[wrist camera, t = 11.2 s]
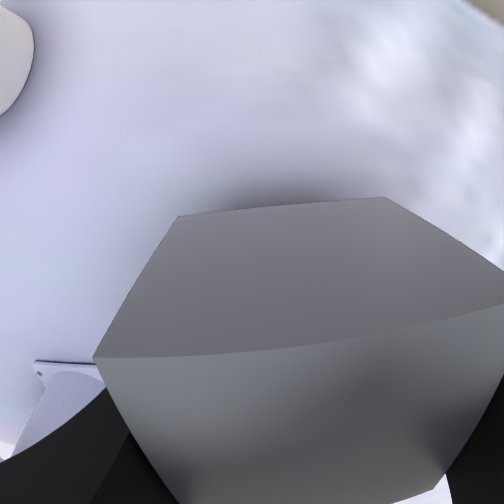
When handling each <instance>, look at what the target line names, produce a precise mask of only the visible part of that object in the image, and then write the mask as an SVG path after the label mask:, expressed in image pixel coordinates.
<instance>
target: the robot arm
mask: <svg viewBox="0 0 504 504" xmlns="http://www.w3.org/2000/svg"><path fill="white" fill-rule="evenodd" d="M32 367H33V369H34V371H35V373H36V375H37V376H38V378H39V380H40V381H41V383H42V384H43V386H44V388H45V390H44V392H43V394H42V396H41V398H40V400H39V402H38V403H37V405H36V407H35V409H34V411H33V413H32V415H31V417H30V419H29V421H28V423H27V425H26V427H25V429H24V431H23V433H22V435H21V437H20V439H19V441H18V443H17V445H16V447H15V449H14V451H13V453H12V456H11V457H10V458H9V459H7V460H5V461H4V460H3V459H2V458H0V504H179V502H178V501H177V500H176V499H175V497H174V496H173V495H172V493H171V492H170V490H169V489H168V488H167V486H166V485H165V484H164V482H163V481H162V479H161V478H160V476H159V475H158V474H157V472H156V471H155V469H154V468H153V466H152V465H151V463H150V462H149V460H148V459H147V457H146V455H145V454H144V452H143V451H142V449H141V448H140V446H139V444H138V443H137V441H136V440H135V438H134V436H133V435H132V433H131V431H130V429H129V428H128V426H127V424H126V423H125V421H124V419H123V417H122V415H121V414H120V412H119V410H118V408H117V406H116V405H115V403H114V401H113V399H112V397H111V395H110V393H109V391H108V389H107V387H106V385H105V383H104V381H103V379H102V377H101V375H100V373H99V371H98V369H97V367H96V365H82V364H63V363H49V362H34V363H33V365H32ZM446 477H447V481H448V485H449V489H450V493H451V498H452V503H453V504H504V374H503V376H502V379H501V381H500V383H499V385H498V387H497V389H496V391H495V393H494V395H493V397H492V399H491V401H490V403H489V404H488V406H487V408H486V410H485V412H484V414H483V415H482V417H481V419H480V421H479V422H478V424H477V426H476V427H475V429H474V431H473V432H472V434H471V436H470V437H469V439H468V440H467V442H466V444H465V445H464V447H463V448H462V450H461V451H460V453H459V454H458V456H457V457H456V459H455V460H454V462H453V463H452V464H451V466H450V467H449V469H448V470H447V471H446Z"/></svg>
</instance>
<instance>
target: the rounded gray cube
mask: <svg viewBox="0 0 504 504" xmlns="http://www.w3.org/2000/svg"><path fill="white" fill-rule="evenodd" d="M92 358H93V360H94V362H95V365H96V367H97V369H98V371H99V373H100V375H101V377H102V379H103V381H104V383H105V385H106V387H107V389H108V391H109V393H110V395H111V397H112V399H113V401H114V403H115V405H116V406H117V408H118V410H119V412H120V414H121V415H122V417H123V419H124V421H125V423H126V424H127V426H128V428H129V429H130V431H131V433H132V435H133V436H134V438H135V440H136V441H137V443H138V444H139V446H140V448H141V449H142V451H143V452H144V454H145V455H146V457H147V459H148V460H149V462H150V463H151V465H152V466H153V468H154V469H155V471H156V472H157V474H158V475H159V476H160V478H161V479H162V481H163V482H164V484H165V485H166V486H167V488H168V489H169V490H170V492H171V493H172V495H173V496H174V497H175V499H176V500H177V501H178V502H179V504H392V503H395V502H399V501H402V500H405V499H408V498H411V497H413V496H416V495H419V494H422V493H424V492H427V491H430V490H432V489H433V488H434V487H435V486H436V485H437V483H438V482H439V481H440V479H441V478H442V477H443V475H444V474H445V473H446V471H447V470H448V469H449V467H450V466H451V464H452V463H453V462H454V460H455V459H456V457H457V456H458V454H459V453H460V451H461V450H462V448H463V447H464V445H465V444H466V442H467V440H468V439H469V437H470V436H471V434H472V432H473V431H474V429H475V427H476V426H477V424H478V422H479V421H480V419H481V417H482V415H483V414H484V412H485V410H486V408H487V406H488V404H489V403H490V401H491V399H492V397H493V395H494V393H495V391H496V389H497V387H498V385H499V383H500V381H501V379H502V376H503V374H504V271H502V270H501V269H500V268H498V267H497V266H495V265H494V264H493V263H491V262H490V261H488V260H487V259H485V258H484V257H482V256H481V255H479V254H478V253H476V252H475V251H473V250H472V249H470V248H469V247H467V246H466V245H464V244H463V243H461V242H460V241H458V240H457V239H455V238H453V237H452V236H450V235H449V234H447V233H445V232H444V231H442V230H441V229H439V228H437V227H436V226H434V225H432V224H431V223H429V222H427V221H426V220H424V219H422V218H421V217H419V216H417V215H416V214H414V213H412V212H410V211H409V210H407V209H405V208H403V207H402V206H400V205H398V204H396V203H394V202H393V201H391V200H389V199H387V198H385V197H379V198H364V199H349V200H336V201H323V202H311V203H299V204H288V205H277V206H267V207H257V208H247V209H238V210H228V211H219V212H211V213H202V214H194V215H186V216H178V217H177V218H176V220H175V221H174V223H173V224H172V226H171V227H170V229H169V230H168V232H167V233H166V235H165V236H164V238H163V240H162V241H161V243H160V244H159V246H158V247H157V249H156V250H155V252H154V253H153V255H152V257H151V258H150V260H149V261H148V263H147V264H146V266H145V268H144V269H143V271H142V272H141V274H140V276H139V277H138V279H137V281H136V282H135V284H134V286H133V287H132V289H131V290H130V292H129V294H128V295H127V297H126V299H125V300H124V302H123V304H122V306H121V307H120V309H119V311H118V312H117V314H116V316H115V318H114V319H113V321H112V323H111V325H110V326H109V328H108V330H107V332H106V333H105V335H104V337H103V339H102V341H101V342H100V344H99V346H98V348H97V350H96V351H95V353H94V355H93V357H92Z"/></svg>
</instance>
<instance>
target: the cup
mask: <svg viewBox="0 0 504 504" xmlns="http://www.w3.org/2000/svg"><path fill="white" fill-rule="evenodd" d="M33 52H34V40H33V34H32V31H31V28H30V26H29V24H28V23H27V22H26V21H25V20H24V19H22V18H21V17H19V16H18V15H16V14H14V13H13V12H11V11H9V10H8V9H6V8H5V7H3V6H1V5H0V115H1V114H3V113H4V112H5V111H6V110H7V109H8V108H9V107H10V106H11V105H12V104H13V103H14V101H15V100H16V99H17V97H18V95H19V94H20V92H21V90H22V89H23V87H24V84H25V82H26V80H27V77H28V75H29V72H30V68H31V64H32V60H33Z"/></svg>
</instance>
